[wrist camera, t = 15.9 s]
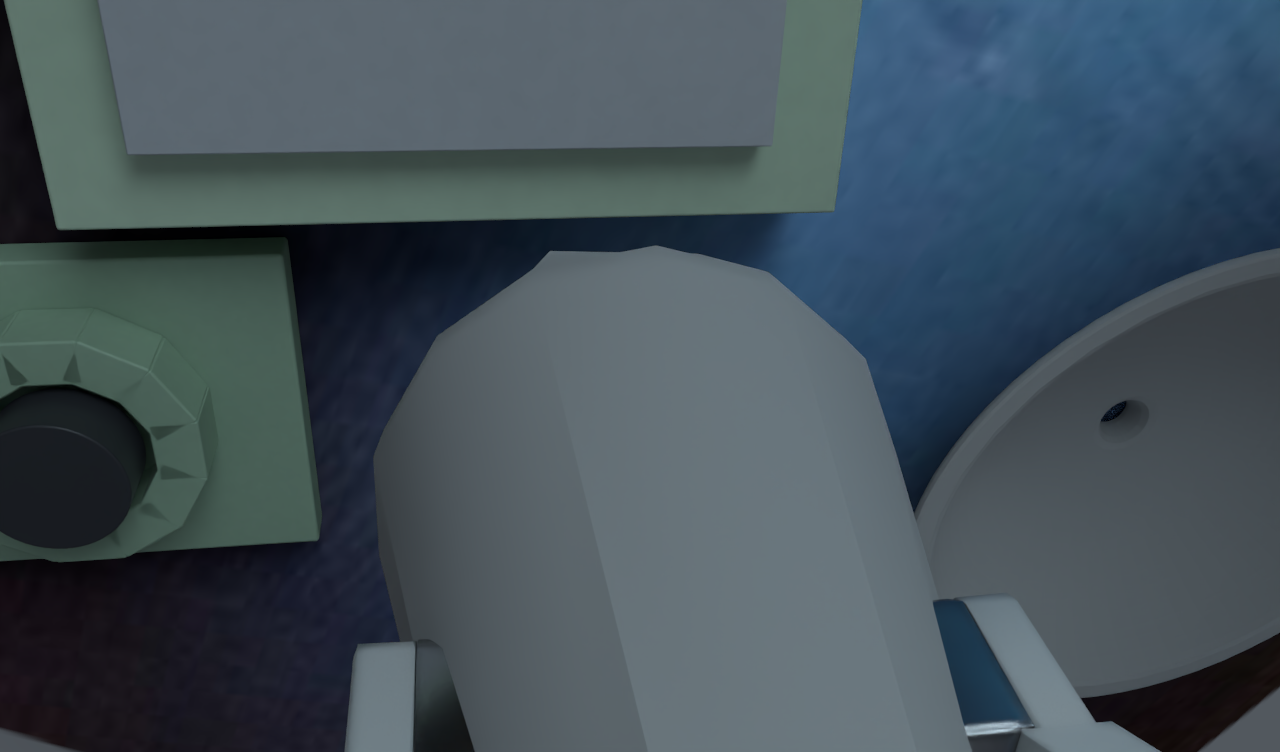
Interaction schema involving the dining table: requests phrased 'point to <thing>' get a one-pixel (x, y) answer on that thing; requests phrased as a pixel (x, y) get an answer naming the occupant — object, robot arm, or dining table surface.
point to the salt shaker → (661, 521)
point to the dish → (1130, 485)
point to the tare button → (66, 468)
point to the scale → (433, 108)
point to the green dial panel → (173, 381)
